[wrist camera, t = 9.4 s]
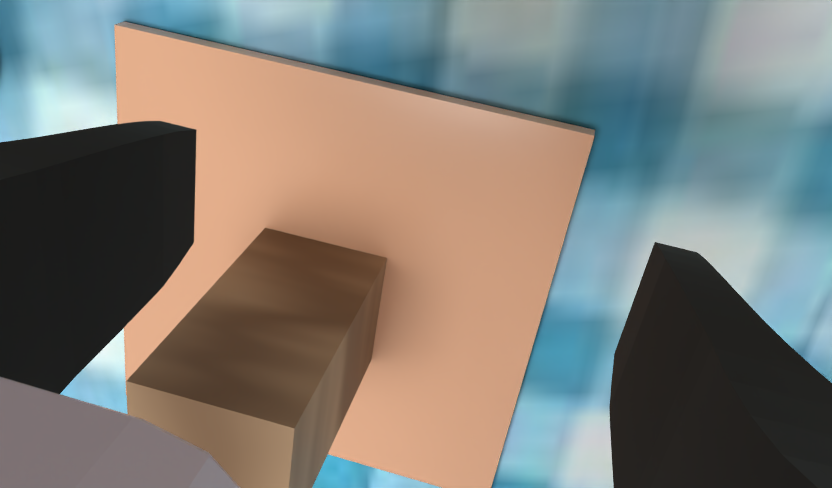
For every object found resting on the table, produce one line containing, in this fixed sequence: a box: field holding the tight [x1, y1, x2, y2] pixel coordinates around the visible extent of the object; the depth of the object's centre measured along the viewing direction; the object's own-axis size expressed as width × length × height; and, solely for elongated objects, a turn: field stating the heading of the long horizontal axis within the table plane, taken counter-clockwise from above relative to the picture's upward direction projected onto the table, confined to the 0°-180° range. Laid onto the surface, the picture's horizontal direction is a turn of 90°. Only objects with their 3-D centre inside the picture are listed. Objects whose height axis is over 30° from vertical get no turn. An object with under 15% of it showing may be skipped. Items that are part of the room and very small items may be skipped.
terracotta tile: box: [115, 21, 595, 488], centre depth 25 cm, size 14×14×1 cm
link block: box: [126, 228, 387, 488], centre depth 21 cm, size 4×4×8 cm
